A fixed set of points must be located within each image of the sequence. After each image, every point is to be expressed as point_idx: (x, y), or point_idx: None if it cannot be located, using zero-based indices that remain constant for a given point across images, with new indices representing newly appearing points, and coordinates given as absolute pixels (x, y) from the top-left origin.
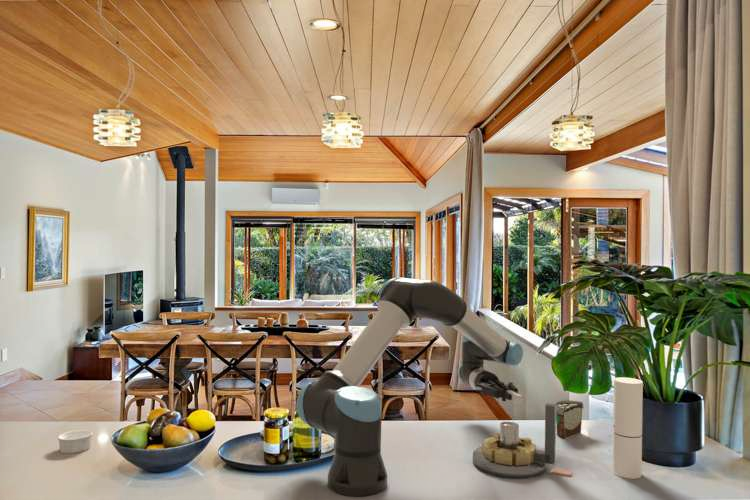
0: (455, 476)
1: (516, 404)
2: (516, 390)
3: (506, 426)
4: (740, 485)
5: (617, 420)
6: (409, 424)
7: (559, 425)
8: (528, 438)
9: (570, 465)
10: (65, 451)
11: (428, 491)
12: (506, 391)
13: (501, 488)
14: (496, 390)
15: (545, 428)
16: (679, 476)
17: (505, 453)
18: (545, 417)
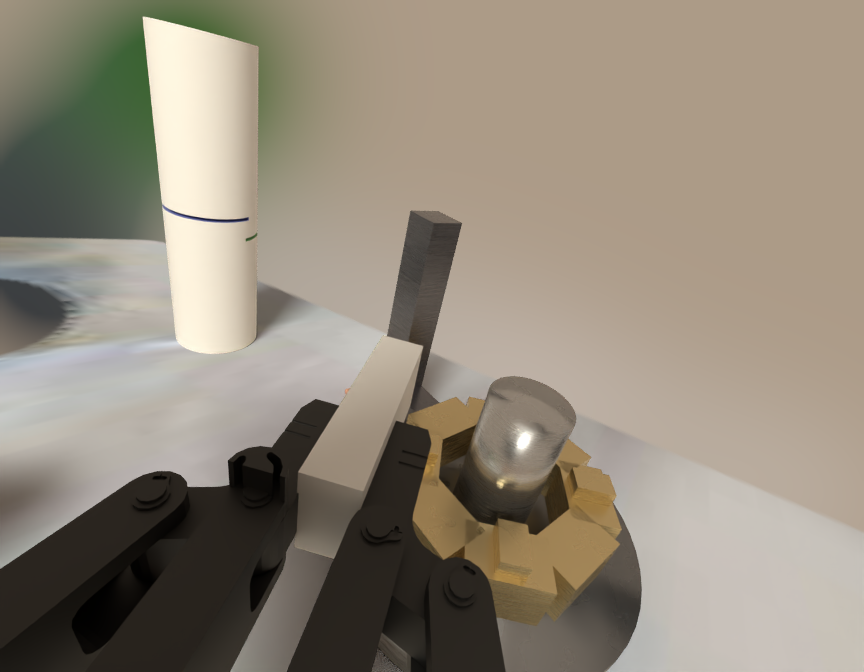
0: (710, 544)
1: (407, 409)
2: (179, 482)
3: (558, 397)
4: (113, 241)
5: (254, 193)
6: None
7: None
8: None
9: (289, 418)
10: None
11: (789, 508)
12: (218, 646)
13: (583, 432)
14: (488, 586)
15: (439, 308)
16: (142, 284)
17: None
18: (449, 270)
